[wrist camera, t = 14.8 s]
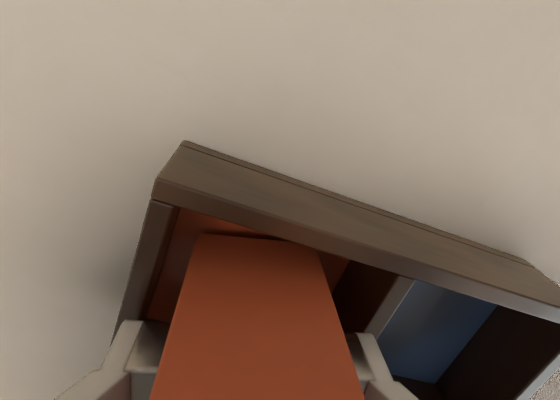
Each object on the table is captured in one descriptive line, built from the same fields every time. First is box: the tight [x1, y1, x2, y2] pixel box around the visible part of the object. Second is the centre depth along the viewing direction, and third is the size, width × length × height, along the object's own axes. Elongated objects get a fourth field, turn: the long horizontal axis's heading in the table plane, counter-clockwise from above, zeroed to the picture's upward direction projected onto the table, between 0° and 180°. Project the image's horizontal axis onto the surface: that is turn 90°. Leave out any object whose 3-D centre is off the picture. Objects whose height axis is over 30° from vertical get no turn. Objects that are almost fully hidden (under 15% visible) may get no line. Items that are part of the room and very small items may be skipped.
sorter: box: [110, 141, 560, 400], centre depth 13 cm, size 15×8×4 cm, turn 68°
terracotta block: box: [149, 233, 365, 400], centre depth 9 cm, size 4×4×6 cm
